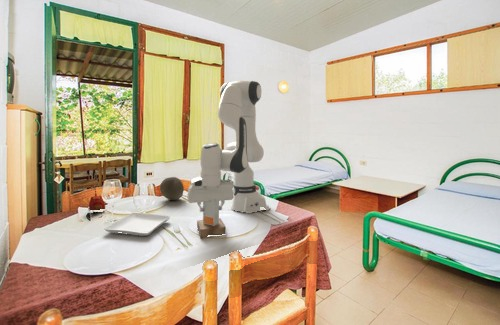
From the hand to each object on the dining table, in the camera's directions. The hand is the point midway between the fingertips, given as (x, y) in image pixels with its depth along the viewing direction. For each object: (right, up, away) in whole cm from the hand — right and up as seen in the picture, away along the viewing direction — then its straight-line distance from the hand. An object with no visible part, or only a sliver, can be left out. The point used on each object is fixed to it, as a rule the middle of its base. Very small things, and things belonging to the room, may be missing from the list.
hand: (210, 210), depth 115 cm
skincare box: (0, -6, +1) cm, 6 cm away
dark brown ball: (-32, -3, +49) cm, 59 cm away
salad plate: (-34, -10, +5) cm, 36 cm away
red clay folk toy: (-66, -6, +25) cm, 71 cm away
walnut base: (0, -10, +1) cm, 10 cm away
